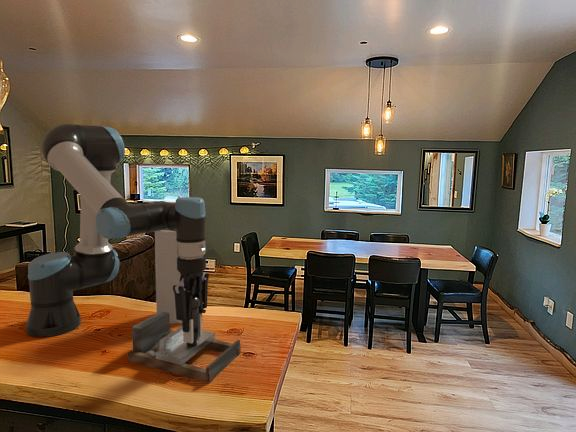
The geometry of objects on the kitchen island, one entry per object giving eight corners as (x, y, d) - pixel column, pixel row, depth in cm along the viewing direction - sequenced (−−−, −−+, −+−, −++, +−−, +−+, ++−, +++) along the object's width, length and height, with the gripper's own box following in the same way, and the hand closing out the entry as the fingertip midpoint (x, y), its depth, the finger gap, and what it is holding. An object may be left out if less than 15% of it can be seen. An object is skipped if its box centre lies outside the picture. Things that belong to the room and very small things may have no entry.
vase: (181, 305, 147) (179, 222, 142) (208, 315, 138) (207, 227, 133) (148, 317, 135) (144, 227, 130) (175, 329, 127) (172, 233, 122)
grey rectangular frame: (127, 361, 107) (126, 330, 106) (166, 336, 122) (165, 308, 120) (209, 383, 98) (209, 349, 96) (240, 353, 112) (240, 323, 111)
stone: (148, 368, 105) (171, 349, 105) (137, 352, 106) (159, 333, 106) (164, 359, 115) (184, 341, 115) (153, 344, 116) (173, 327, 116)
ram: (155, 367, 104) (153, 302, 101) (191, 341, 118) (190, 283, 115) (181, 374, 100) (180, 307, 98) (215, 346, 115) (214, 288, 112)
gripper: (184, 265, 95) (186, 355, 99) (220, 250, 110) (220, 329, 114) (159, 261, 98) (161, 349, 101) (197, 247, 113) (198, 324, 117)
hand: (192, 338), depth 108 cm, fingers closed on ram, 3 cm apart
